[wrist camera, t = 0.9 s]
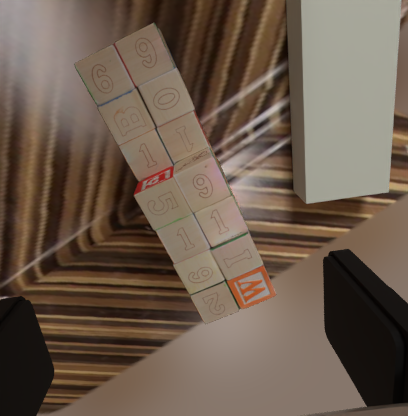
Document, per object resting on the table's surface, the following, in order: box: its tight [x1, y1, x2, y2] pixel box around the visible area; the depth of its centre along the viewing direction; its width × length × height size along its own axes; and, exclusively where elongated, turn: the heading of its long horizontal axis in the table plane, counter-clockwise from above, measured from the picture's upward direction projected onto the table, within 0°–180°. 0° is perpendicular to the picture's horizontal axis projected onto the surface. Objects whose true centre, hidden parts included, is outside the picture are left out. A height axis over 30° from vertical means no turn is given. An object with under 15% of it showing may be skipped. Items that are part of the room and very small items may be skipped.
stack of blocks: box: [74, 23, 277, 324], centre depth 29 cm, size 21×6×12 cm, turn 24°
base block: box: [286, 0, 401, 204], centre depth 31 cm, size 18×8×4 cm, turn 8°
